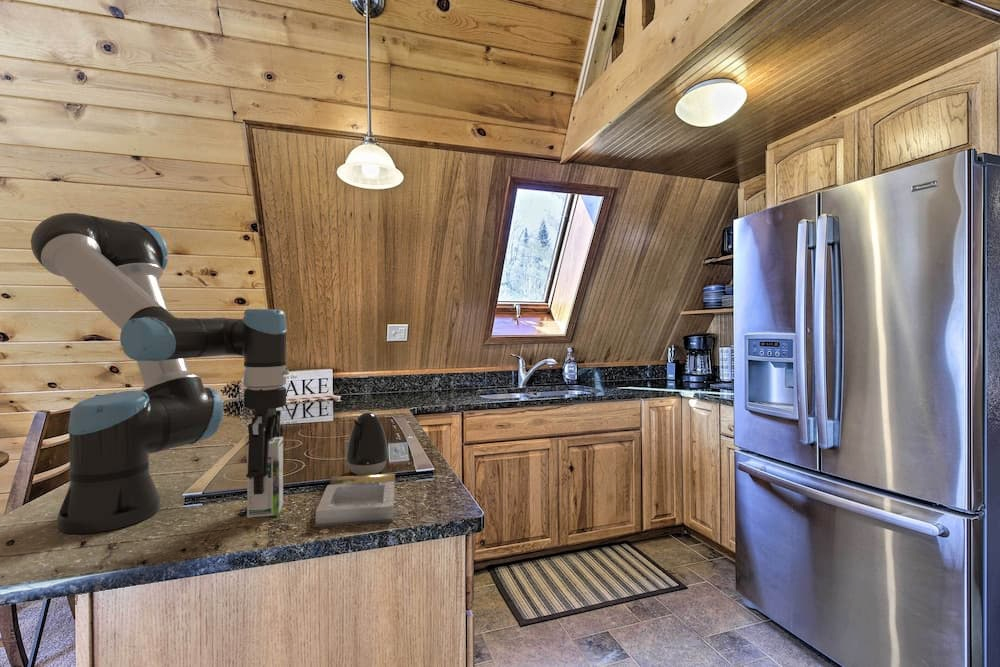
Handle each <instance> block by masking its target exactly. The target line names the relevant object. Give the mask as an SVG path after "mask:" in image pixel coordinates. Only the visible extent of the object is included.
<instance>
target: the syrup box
mask: <svg viewBox="0 0 1000 667" xmlns="http://www.w3.org/2000/svg"><path fill="white" fill-rule="evenodd" d="M248 450H249V442H248V444H247V445H246V474H248ZM266 472H267V474H266V475H268V509H266V510H252V477H248V478H247V477H246V480H247V483H246V484H247V485H246V486H247V487H246V490H247V492H246V493H247V496H246V497H247V498H246V499H247V500H246V502H247V505H246V518H247V519H252V518H263V517H272V516H273V517H275V516H277V517H278V516H279V514H280V513H281V510H282V508H283V505H284V436H281V437H275V438H272V439H271V440H270V441H269V447H268V460H267V471H266Z"/></svg>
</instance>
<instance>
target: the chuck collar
mask: <svg viewBox="0 0 1000 667" xmlns="http://www.w3.org/2000/svg"><path fill="white" fill-rule="evenodd" d="M320 498H321V499H320V501H319V503H318V505H317V507H316V510H315V527H316V528H323V527H333V526H334V527H335V526H351V525H352V526H353V525H365V524H378V523H381V524H382V523H393V522H394V511H395V510H394V507H395V487H394V481H393V482H373V483H354V484H335V485H330V484H327V485H326V488H325V490H324V491H323V494H322V496H321V497H320Z"/></svg>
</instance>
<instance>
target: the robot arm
mask: <svg viewBox="0 0 1000 667" xmlns="http://www.w3.org/2000/svg"><path fill="white" fill-rule="evenodd" d="M30 246H31V247H30V248H31V251H32V253H33V256H34V257H35V259H36V260H37V261H38V263H40V264H41V266H42V267H44V268H45V269H46V271H47V272H50V273H51V274H52V275H54V276H58V277H63V278H65V279H66V281H68V282H69V283H70V284H71V285H72V287H74V288H75V289H76V290H78V292H79V293H81V294H82V295H83V296H84V297H85V298H86V299H87V300H88V301H90V303H92V304H93V306H95V307H96V309H98V310H99V311H100V312H101V313H103V314H104V316H106V317H107V318H108V319H109V320H110V321H111V322H112V323H114V324H115V326H117V327H118V328H119V329H120V330H121V331H120V336H119V337H120V338H119V339H120V340H119V342H120V346H121V347H123V352H124V354H125V355H126V356H127V357H128V358H129V359H131V360H133V361H136V363H137V366H138V370H139V372H140V375H141V379H142V382H143V384H144V386H143V387H142V389H141V390H125V391H119V392H110V393H105V394H100V395H95V396H93V397H88V398H86V399H83V400H80V401H79V402H78V403H76V404H75V405H74V406H72V408H71V410H70V413H69V419H68V420H69V422H68V427H67V431H68V436H69V438H68V439H69V440H68V441H69V474H70V476H69V477H70V478H69V480H70V482H69V486H68V489H67V492H66V494H65V496H64V499H63V502H62V504H61V507H60V509H59V512H58V514H57V515H58V516H57V529H58V530H59V531H60V532H62V533H66V534H74V535H77V534H78V535H81V534H82V535H83V534H95V533H102V532H108V531H112V530H117V529H121V528H125V527H127V526H131V525H132V526H133V525H135V524H137V523H140V522H143V521H144V520H147V519H149V518H150V517H151V518H152V516H154V515H155V514H157V513H158V512H159V510H161V500H160V499H161V498H160V494H159V492H158V490H157V487H156V485H155V483H154V480H153V478H152V475H151V473H150V467H149V465H150V463H149V462H150V461H149V455H151V454H154V453H158V452H159V453H160V452H163V451H167V450H170V449H175V448H178V447H182V446H186V445H194V444H196V443H198V442H202V441H204V440H208V439H209V438H211V437H213V435H215V433H217V431H218V430H219V428H220V426H221V423H222V421H223V418H224V403H223V399H222V397H221V395H220V394H219V392H218V391H216V390H215V389H214V388H210V387H207V386H204V384H203V382H202V381H203V380H202V378H201V377H200V376H199V375H198V374H195V373H192V372H191V371H190V367H189V366H188V362H187V359H193V358H205V357H207V358H208V357H219V356H241V357H243V359H244V360H243V386H244V387H246V388H245V389H244V391H243V406H244V408H245V409H247V410H254V415H253V418H251V423H248V425H247V430H248V443H249V450H248V474H247V473H246V474H245V475H246V479H247V478H248V477H252V510H266V509H268V475H266V474H267V472H266V471H267V460H268V447H269V441H270V440H271V439H272V438H275V437H282V436H281V415H282V413H281V412H282V411H281V410H279V408H282V407H284V406H286V404H287V388H286V387H285V385H286V384H287V376H288V375H289V374H290V371H289V369H286V368H287V333H288V329H287V320H286V316H287V315H286V314H285V311H283V310H281V309H270V308H268V309H267V308H249V309H245V310H244V313H243V318H228V317H207V318H205V317H203V318H202V317H201V318H199V317H197V318H195V317H190V318H189V317H185V318H184V317H177V316H175V315H174V314H172V313H171V312H169V308H168V305H167V303H166V300H165V297H164V294H163V291H162V288H161V285H160V283H159V280H160V279H161V278H162V276H163V274H164V273H163V271H164V270H165V269H166V266H167V264H168V261H169V259H168V258H167V256H169V250H168V247H167V243H166V241H165V239H164V238H163V236H162V235H161V234H160V232H158V231H157V230H155V229H154V227H153V228H152V227H150V226H148V225H143V224H140V223H137V222H133V221H121V220H117V219H116V220H115V219H112V218H111V219H110V218H106V217H99V216H94V215H89V214H84V213H79V212H64V213H59V214H54V215H52V216H50V217H48V218H46V219H44V220H42V221H41V222H40V223H39V224H38V225H36V227H35V228H34V230H33V232H32V234H31V238H30ZM277 409H278V410H277Z"/></svg>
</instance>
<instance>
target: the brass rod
mask: <svg viewBox="0 0 1000 667" xmlns="http://www.w3.org/2000/svg"><path fill="white" fill-rule="evenodd" d="M393 481H394V488H395V487H396V473H384V474H383V473H381V474H380V473H377V474H375V475H343V476H341V475H339V476H331V477H330V480H329V483H330V484H329V485H335V484H354V483H373V482H393Z"/></svg>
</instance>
